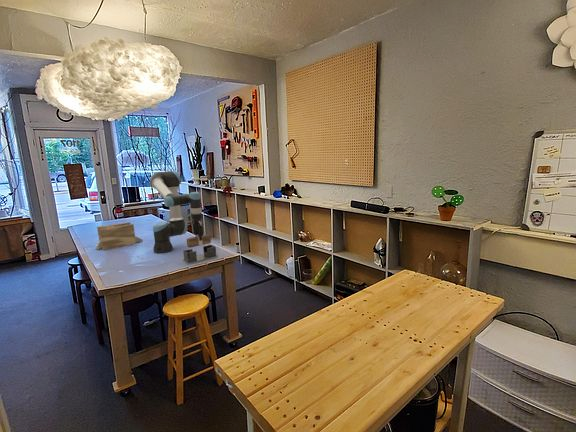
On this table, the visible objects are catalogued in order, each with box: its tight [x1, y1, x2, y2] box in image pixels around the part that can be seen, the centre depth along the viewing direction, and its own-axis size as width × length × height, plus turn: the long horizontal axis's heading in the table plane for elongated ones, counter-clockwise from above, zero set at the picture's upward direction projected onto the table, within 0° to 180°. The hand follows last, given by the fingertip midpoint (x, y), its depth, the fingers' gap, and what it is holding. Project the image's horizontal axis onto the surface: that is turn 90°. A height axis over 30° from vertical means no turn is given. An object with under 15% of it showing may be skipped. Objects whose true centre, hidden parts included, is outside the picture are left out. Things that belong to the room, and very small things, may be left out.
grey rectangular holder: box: [182, 244, 218, 265], centre depth 231 cm, size 10×23×8 cm, turn 130°
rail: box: [186, 234, 212, 249], centre depth 229 cm, size 4×17×6 cm, turn 130°
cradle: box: [96, 221, 137, 251], centre depth 272 cm, size 14×26×18 cm, turn 130°
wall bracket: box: [95, 224, 143, 251], centre depth 273 cm, size 22×4×30 cm
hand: (199, 243), depth 229 cm, fingers closed on rail, 4 cm apart
